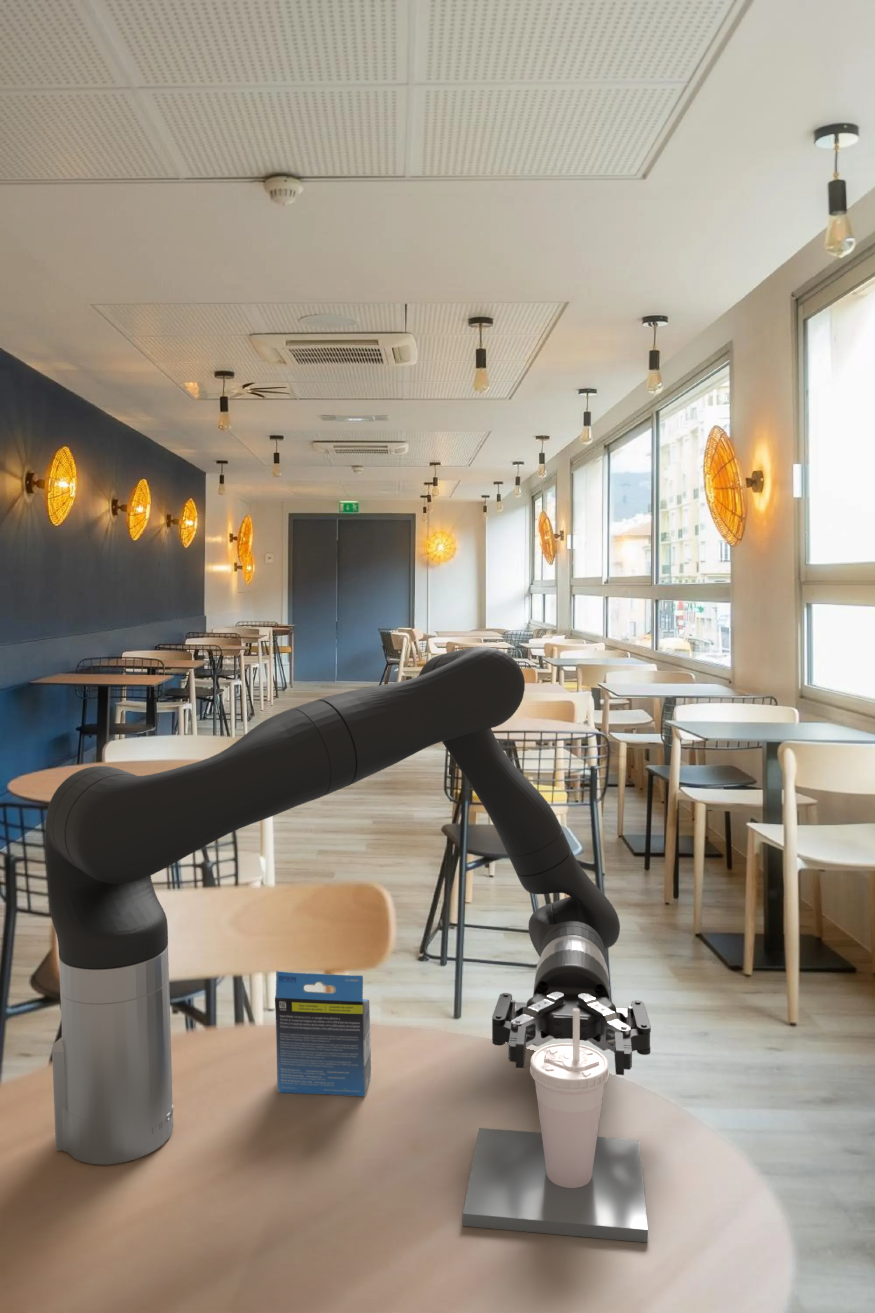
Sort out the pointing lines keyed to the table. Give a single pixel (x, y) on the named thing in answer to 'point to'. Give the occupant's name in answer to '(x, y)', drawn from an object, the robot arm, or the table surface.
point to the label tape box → (322, 1035)
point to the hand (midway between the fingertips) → (569, 1061)
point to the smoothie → (569, 1106)
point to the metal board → (555, 1189)
